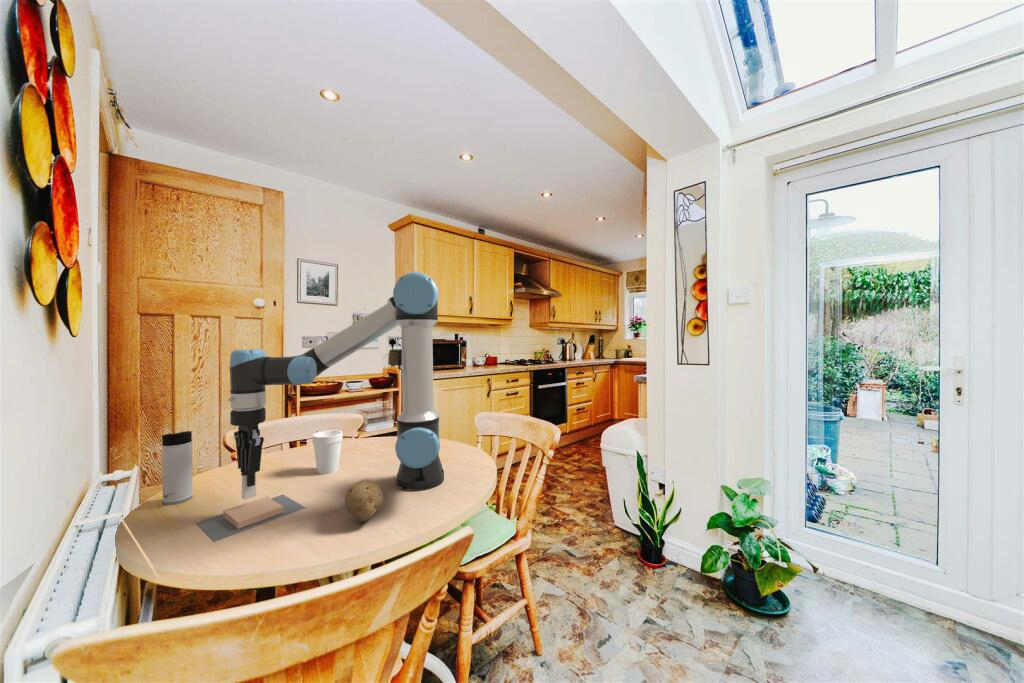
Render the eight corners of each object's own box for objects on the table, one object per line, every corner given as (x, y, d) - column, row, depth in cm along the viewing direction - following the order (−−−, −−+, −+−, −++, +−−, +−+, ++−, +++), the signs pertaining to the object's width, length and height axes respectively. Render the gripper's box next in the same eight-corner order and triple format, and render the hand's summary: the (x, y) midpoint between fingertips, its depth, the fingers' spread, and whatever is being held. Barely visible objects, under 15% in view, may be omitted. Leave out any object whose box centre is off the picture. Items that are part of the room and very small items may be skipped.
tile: (267, 503, 101) (283, 513, 95) (223, 517, 93) (237, 529, 87) (267, 496, 101) (283, 506, 95) (223, 510, 93) (237, 522, 87)
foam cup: (314, 468, 129) (313, 431, 128) (342, 464, 133) (342, 429, 132) (311, 477, 120) (311, 438, 120) (342, 473, 124) (342, 435, 124)
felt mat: (306, 509, 98) (306, 507, 98) (213, 543, 82) (213, 541, 82) (283, 495, 106) (283, 494, 106) (195, 524, 90) (195, 522, 90)
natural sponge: (365, 508, 99) (365, 472, 99) (390, 515, 95) (390, 477, 95) (337, 524, 91) (336, 484, 90) (363, 532, 87) (362, 491, 87)
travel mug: (163, 509, 98) (162, 435, 98) (161, 501, 102) (160, 431, 102) (194, 501, 103) (193, 431, 102) (191, 494, 107) (190, 427, 107)
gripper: (222, 407, 96) (222, 495, 96) (240, 413, 88) (241, 509, 89) (254, 403, 102) (255, 486, 102) (274, 408, 95) (275, 498, 95)
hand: (249, 497), depth 96 cm, fingers closed
